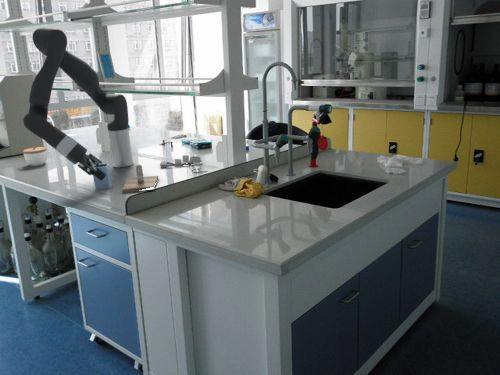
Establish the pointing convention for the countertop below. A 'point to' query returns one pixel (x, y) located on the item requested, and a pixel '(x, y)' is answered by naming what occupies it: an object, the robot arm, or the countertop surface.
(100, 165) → the blue box
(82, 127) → the countertop surface
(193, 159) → the pulley system
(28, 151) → the lidded jar
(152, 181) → the post base
